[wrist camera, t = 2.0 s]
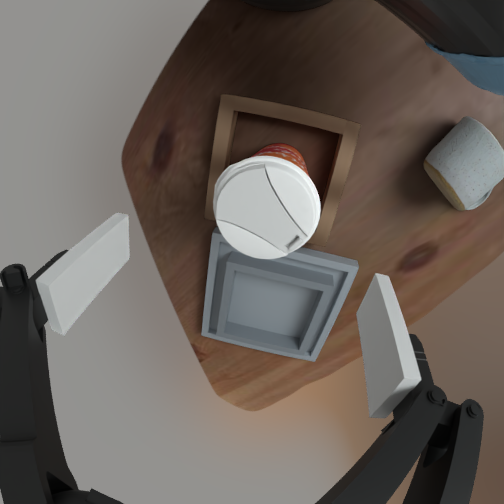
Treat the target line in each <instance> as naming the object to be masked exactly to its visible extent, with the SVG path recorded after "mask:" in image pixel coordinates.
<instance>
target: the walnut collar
mask: <svg viewBox="0 0 504 504" xmlns="http://www.w3.org/2000/svg"><path fill="white" fill-rule="evenodd" d="M238 111H241V112H246V113H252V114H258V115H263V116H268V117H273V118H278V119H282V120H287V121H292V122H296V123H300V124H304V125H309V126H313V127H317V128H321V129H324V130H328V131H332V132H335V133H339V134H340V135H339V139H338V143H337V147H336V151H335V155H334V158H333V162H332V166H331V170H330V173H329V177H328V181H327V184H326V188H325V192H324V195H323V199H322V202H321V206H320V208H321V211H320V219H319V222H318V226H317V228H316V230H315V232H314V233H313V235H312V236H311V238H310V239H309V240H308V241H307V242H306V243H310V244H315V245H319V246H323V247H325V246H326V243H327V240H328V237H329V234H330V231H331V228H332V225H333V222H334V219H335V216H336V212H337V209H338V206H339V203H340V199H341V196H342V193H343V189H344V186H345V183H346V179H347V176H348V172H349V169H350V165H351V162H352V158H353V155H354V151H355V147H356V143H357V140H358V136H359V132H360V128H361V124H359V123H356V122H353V121H350V120H346V119H343V118H339V117H336V116H332V115H328V114H325V113H321V112H317V111H313V110H309V109H305V108H300V107H296V106H291V105H287V104H282V103H277V102H272V101H267V100H261V99H256V98H250V97H244V96H237V95H231V94H221V99H220V105H219V111H218V118H217V124H216V131H215V137H214V144H213V151H212V158H211V166H210V173H209V181H208V188H207V197H206V205H205V213H204V219H208V220H213V221H216V219H215V215H214V210H213V199H214V190H215V184H216V182H217V180H218V178H219V177H220V176H221V174H222V173H223V172H224V171H225V170H226V169H227V168H228V167H229V164H230V158H231V152H232V146H233V140H234V134H235V128H236V122H237V116H238Z"/></svg>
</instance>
